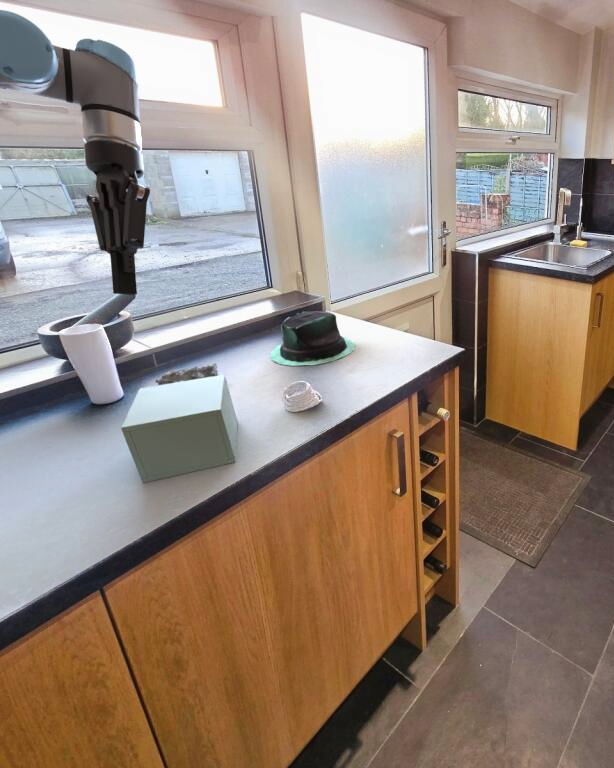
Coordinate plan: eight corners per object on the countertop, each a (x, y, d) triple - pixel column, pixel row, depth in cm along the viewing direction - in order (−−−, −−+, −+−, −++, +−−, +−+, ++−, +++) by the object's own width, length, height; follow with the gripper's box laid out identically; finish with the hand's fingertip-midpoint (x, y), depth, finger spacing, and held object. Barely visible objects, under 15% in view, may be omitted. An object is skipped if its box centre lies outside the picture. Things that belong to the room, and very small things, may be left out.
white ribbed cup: (330, 406, 99) (329, 383, 97) (303, 418, 93) (301, 394, 91) (302, 395, 102) (300, 373, 100) (273, 406, 96) (271, 383, 94)
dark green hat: (324, 367, 112) (248, 362, 116) (365, 374, 130) (297, 370, 134) (330, 301, 113) (254, 299, 117) (370, 318, 131) (303, 316, 135)
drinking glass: (125, 389, 104) (100, 321, 98) (132, 399, 100) (105, 328, 94) (85, 399, 100) (55, 329, 94) (90, 410, 96) (59, 337, 89)
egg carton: (158, 399, 100) (151, 381, 98) (168, 384, 107) (162, 367, 105) (217, 391, 103) (211, 373, 101) (223, 377, 110) (218, 360, 108)
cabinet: (157, 437, 86) (139, 388, 82) (237, 421, 91) (224, 374, 87) (142, 483, 74) (120, 427, 70) (236, 462, 79) (220, 409, 75)
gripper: (163, 148, 81) (174, 292, 83) (115, 163, 86) (126, 299, 88) (112, 129, 74) (124, 287, 76) (62, 147, 80) (75, 295, 81)
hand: (125, 293), depth 82 cm, fingers closed
